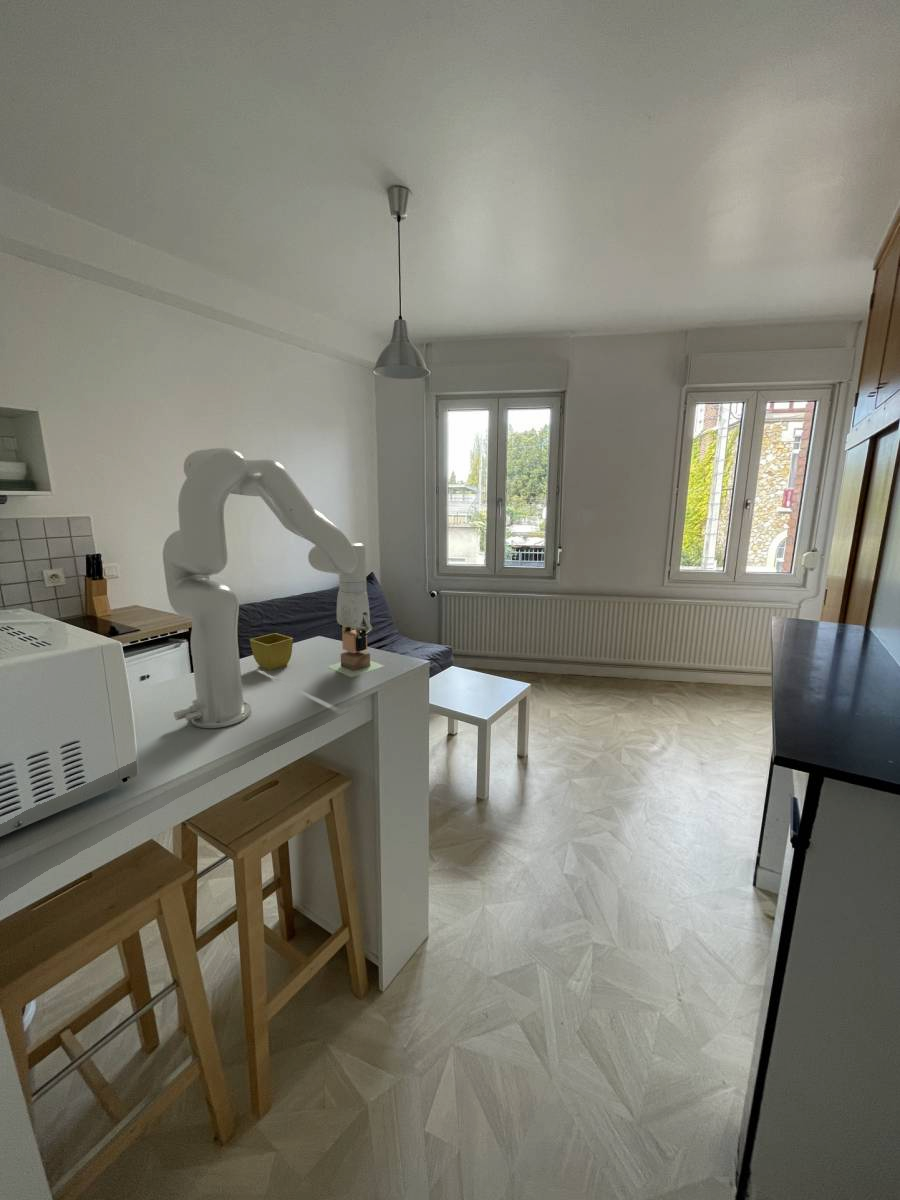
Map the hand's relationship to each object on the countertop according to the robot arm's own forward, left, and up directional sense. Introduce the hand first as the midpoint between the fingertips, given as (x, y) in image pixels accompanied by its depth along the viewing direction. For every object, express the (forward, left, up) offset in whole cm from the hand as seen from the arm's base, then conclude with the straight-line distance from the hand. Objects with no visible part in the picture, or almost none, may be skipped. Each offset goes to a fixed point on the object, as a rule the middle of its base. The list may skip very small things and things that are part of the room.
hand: (354, 647), depth 142 cm
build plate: (0, 0, -7) cm, 7 cm away
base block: (0, 0, -6) cm, 6 cm away
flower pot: (-16, +18, -7) cm, 25 cm away
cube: (0, 0, -1) cm, 1 cm away
